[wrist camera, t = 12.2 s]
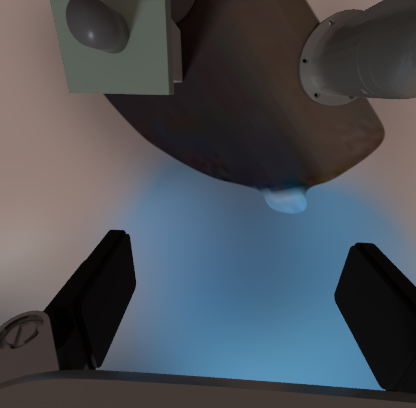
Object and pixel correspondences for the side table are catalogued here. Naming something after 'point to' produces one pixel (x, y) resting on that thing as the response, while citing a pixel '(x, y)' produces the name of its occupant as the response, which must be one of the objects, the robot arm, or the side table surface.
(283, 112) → the side table surface
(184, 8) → the mat
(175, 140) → the side table surface
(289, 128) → the side table surface
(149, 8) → the square plate with knob
